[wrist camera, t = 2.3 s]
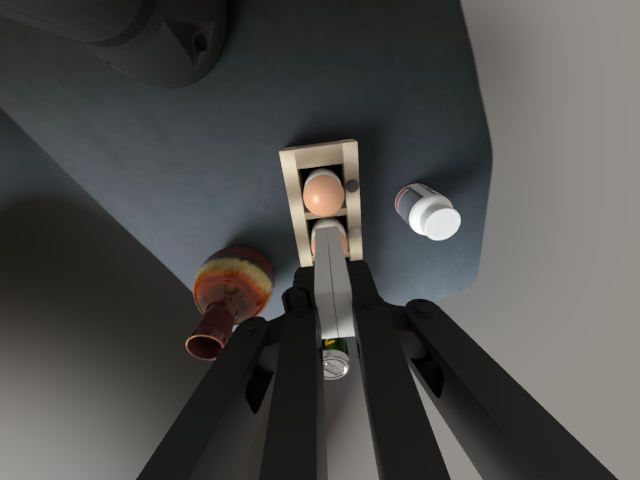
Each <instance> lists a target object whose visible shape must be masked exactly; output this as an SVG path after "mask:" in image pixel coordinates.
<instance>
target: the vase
mask: <svg viewBox="0 0 640 480" xmlns="http://www.w3.org/2000/svg"><path fill="white" fill-rule="evenodd" d="M273 290H274V274H273V270H272V267H271V265H270V263H269V261H268V260H267V259H266V258H265V256H264V255H262V254H261V253H260V252H258V251H257V250H255V249H252V248H249V247H245V246H231V247H227V248H224V249H222V250H220V251H218V252H216V253H214V254H213V255H212V256H210V257H209V258H208V259H207V260H206V261H205V262H204V263H203V264H202V266H201V267H200V269H199V270H198V272H197V275H196V277H195V280H194V286H193V293H194V299H195V302H196V304H197V306H198V308H199V310H200V311H201V313H202V314H203V315H204V316H203V317H202V319H201V320H200V322H199V323H198V325H197V326H196V328H195V329H194V330H193V332H192V334H191V335H190V336H189V338H188V339H187V341H186V348H187V350H188V351H189V353H190V354H192V355H193V356H195V357H197V358H199V359H203V360H215V359H216V358H217V356H218V355H219V353H220V352H221V350H222V349H223V347H224V346H225V344H226V343H227V341H228V340H229V337H230V334H231V331H232V328H233V326H234V325H239V324H240V323H241V322H243V321H244V320H246V319H248V318H250V317H255V316H258V315H260V314H261V313H262V312H263V311H264V309H265V308H266V307H267V305H268V304H269V302H270V300H271V297H272V295H273Z"/></svg>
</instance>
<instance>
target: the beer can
mask: <svg viewBox="0 0 640 480" xmlns="http://www.w3.org/2000/svg"><path fill="white" fill-rule="evenodd" d="M335 311H336V310H335ZM336 321H337V318H336ZM337 331H338V326H337ZM322 347H323V362H324V379H338V378H340V377H343V376H344V375H345V374H347V372H348V370H349V361H350V360H349V353H348V345H347V338H346V337H339V334H338V338H329V339H322Z"/></svg>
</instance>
